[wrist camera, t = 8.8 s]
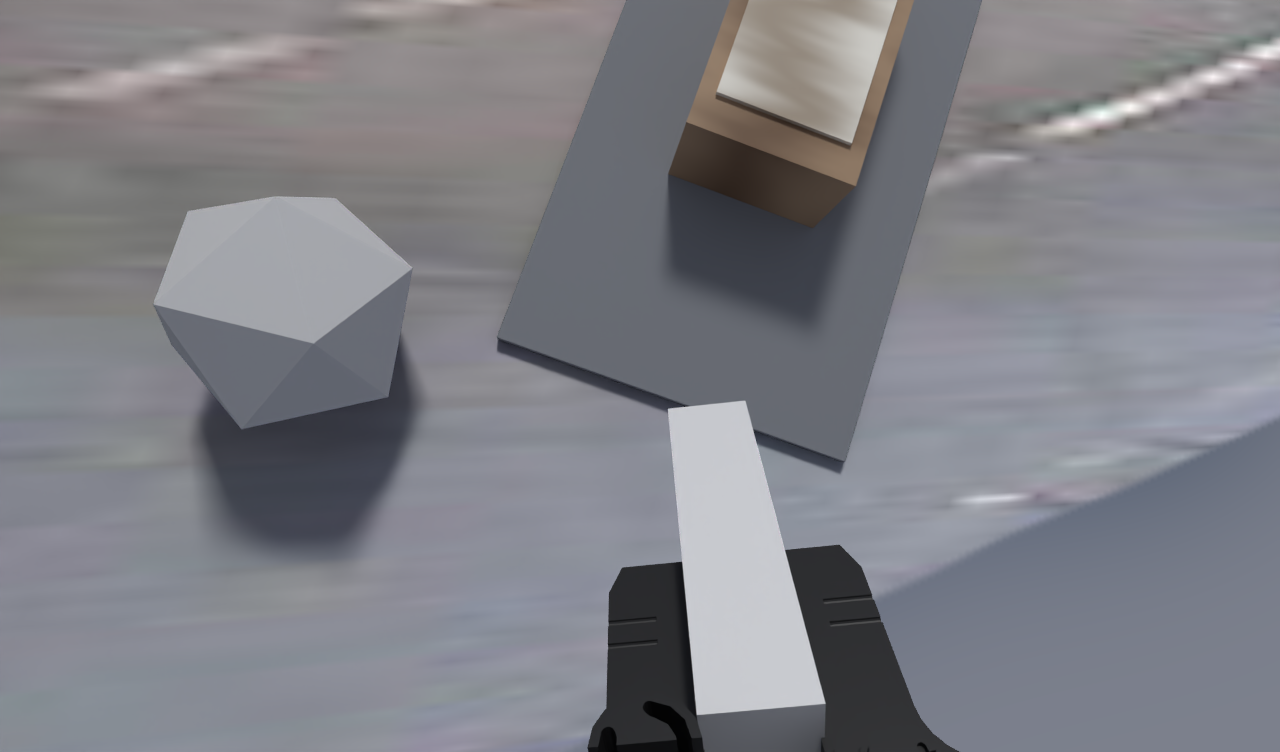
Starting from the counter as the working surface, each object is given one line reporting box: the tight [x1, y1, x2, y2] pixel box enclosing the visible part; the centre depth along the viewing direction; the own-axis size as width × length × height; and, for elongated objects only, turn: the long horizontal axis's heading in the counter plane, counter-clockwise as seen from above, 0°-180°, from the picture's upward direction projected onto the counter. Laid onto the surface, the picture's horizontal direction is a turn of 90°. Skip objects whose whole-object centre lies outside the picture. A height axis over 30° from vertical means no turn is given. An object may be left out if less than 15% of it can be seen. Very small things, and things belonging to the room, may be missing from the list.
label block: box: [668, 0, 914, 228], centre depth 32 cm, size 7×5×13 cm
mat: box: [497, 0, 982, 462], centre depth 34 cm, size 16×24×1 cm, turn 161°
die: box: [153, 196, 413, 429], centre depth 28 cm, size 8×9×10 cm
